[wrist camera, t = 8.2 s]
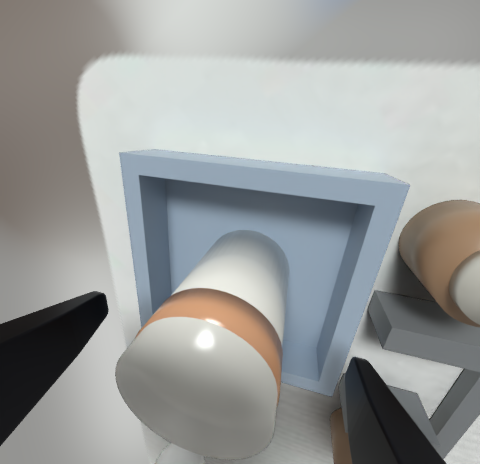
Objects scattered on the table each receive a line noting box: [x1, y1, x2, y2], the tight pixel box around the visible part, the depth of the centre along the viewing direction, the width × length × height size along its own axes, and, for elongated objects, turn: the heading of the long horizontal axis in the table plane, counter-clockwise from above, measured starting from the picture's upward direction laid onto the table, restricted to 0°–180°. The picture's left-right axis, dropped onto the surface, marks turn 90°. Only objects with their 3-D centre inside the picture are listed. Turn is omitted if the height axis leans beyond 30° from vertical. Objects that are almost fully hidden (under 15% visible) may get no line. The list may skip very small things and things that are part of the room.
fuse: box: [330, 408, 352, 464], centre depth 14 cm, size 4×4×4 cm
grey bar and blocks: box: [339, 290, 480, 459], centre depth 11 cm, size 6×18×2 cm, turn 176°
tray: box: [119, 149, 410, 397], centre depth 12 cm, size 11×11×2 cm
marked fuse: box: [115, 230, 289, 460], centre depth 9 cm, size 4×4×7 cm
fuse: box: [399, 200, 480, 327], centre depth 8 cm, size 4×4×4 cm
